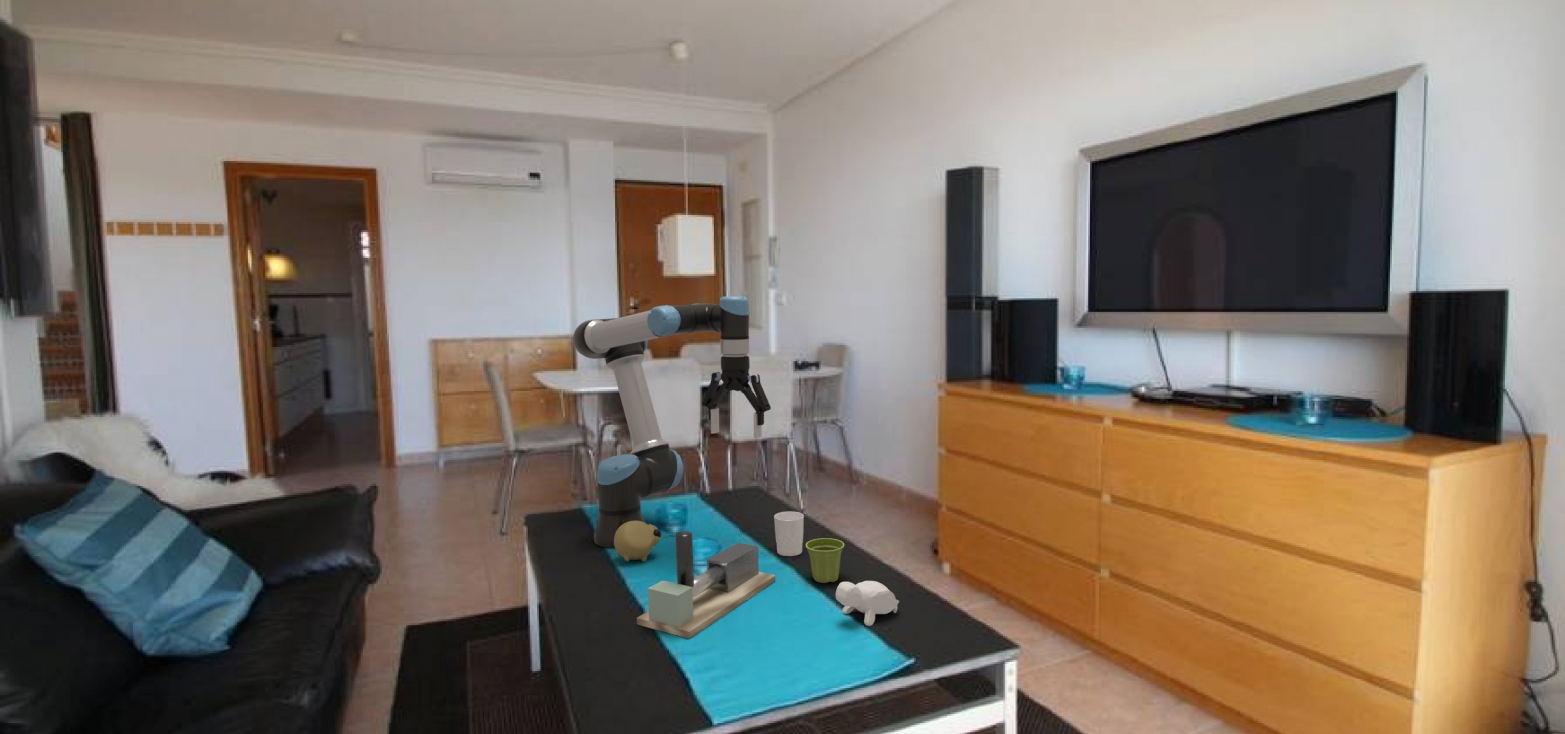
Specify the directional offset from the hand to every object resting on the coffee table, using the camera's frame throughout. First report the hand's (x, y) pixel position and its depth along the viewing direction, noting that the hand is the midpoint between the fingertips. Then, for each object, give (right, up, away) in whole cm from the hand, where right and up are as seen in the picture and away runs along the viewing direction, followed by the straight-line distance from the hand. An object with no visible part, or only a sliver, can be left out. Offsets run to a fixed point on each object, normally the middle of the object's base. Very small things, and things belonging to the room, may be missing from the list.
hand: (736, 435), depth 202 cm
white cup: (+14, -32, +2) cm, 35 cm away
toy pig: (-26, -33, -1) cm, 42 cm away
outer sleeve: (+1, -33, -20) cm, 39 cm away
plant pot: (+23, -34, -17) cm, 44 cm away
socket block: (-11, -35, -41) cm, 55 cm away
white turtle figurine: (+30, -36, -38) cm, 60 cm away
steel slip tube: (-6, -32, -33) cm, 46 cm away
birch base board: (-4, -35, -28) cm, 45 cm away
